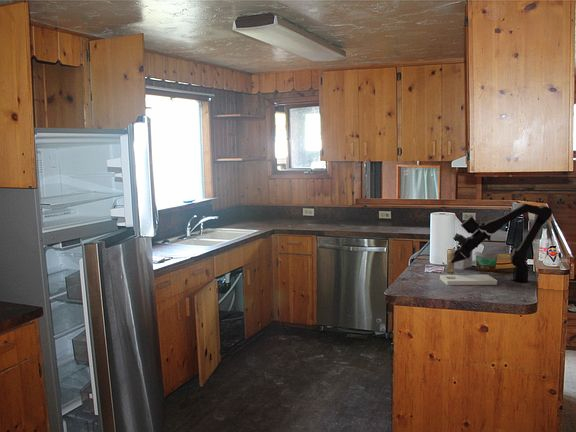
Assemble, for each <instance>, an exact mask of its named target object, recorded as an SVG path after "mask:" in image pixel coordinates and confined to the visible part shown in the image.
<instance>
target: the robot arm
mask: <svg viewBox="0 0 576 432" xmlns="http://www.w3.org/2000/svg"><path fill="white" fill-rule="evenodd" d="M526 213H528V214H532V215H534V219H533V222H532V224H531V225H530V227H529V229H528V231H527V232H526V235H525V236H524V237H523V239H522V242H521V243H520V245H519V246H518V247H517V248H515V247H513V249H512V251H511V253H510V254H509V260H510V262H511V265H513V266H514V267H513V272H512V278H511V279H510V281H514V282H516V283H520V284H521V283H522V284H525V283H530V282H531V280H530V279H529V268H530V267H529V265H528V264H527V262H526V258H527V254H528V251H529V249H530V248H531V246H532V244H533V242H534V241H535V240H536V239H535V238H536V237H537V235H538V233H539V231H540V230H541V229H542V227H543V225H544V224H545V223H546V222H548V221H549V220H550V218H551V217H552V215H553V211H552V209H551V208H550V206H547V205H544V204H543V205H539V206H537V205H534V204H528V203H526V202H524V203H523V204H521V205H520V206H518V207H515V208H514V209H513V210H511V211H509V212H507V213H505V214H503V215H502V216H500V217H497V218H494V219H493V218H492V219H490V220H487V221H486V222H483V223H481V222H479V223H478V222H477V221H476V220H475V219H474V217H473V216H469V218H468V219H466V220H464V221H463V222H462V223H461V225H460V226H461V227H462V228H463V229H464V230H465V231H466V233H468V234H472V235H470V236H467V237H466V236H464V235H463V234H459V233H458V232H456V233H455V234H454V237H452V238H453V239H454V240H455V241H456V242H457V244H456V248H457V250H456V251H455V253H454V258H453V259H452V261H451V263H455V262H458V261H461V260H465V259H468V258H470V257H471V252H472V253H473V251H474V250H475V249H477V248H479V245H481V244H482V243H483V242H485V240H486V239H487V241H488V242H490V241H491V237H492V236H491V235H493V234H495V233H497V232H498V231H499V230H500V229H501V228H502V227H503V226H504V225H506V224H507V223H510V222H512V221H513V220H515V219H517V218H519V217H520V216H523V215H524V214H526ZM472 250H473V251H472Z"/></svg>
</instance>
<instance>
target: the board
mask: <svg viewBox="0 0 576 432" xmlns="http://www.w3.org/2000/svg"><path fill="white" fill-rule="evenodd" d="M439 280H440V281H442V283H444V284H445V285H447V286H480V285H481V286H483V285H487V286H489V285H492V286H493V285H498V280H497V279H495V278H494V277H492V276H491V275H489V274H453V275H447V274H440V275H439Z"/></svg>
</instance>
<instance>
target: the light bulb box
mask: <svg viewBox="0 0 576 432" xmlns="http://www.w3.org/2000/svg"><path fill="white" fill-rule="evenodd" d="M453 250H455V251H456V250H457V247H456V248H455V249H453ZM473 252H474V250H472V252H471V257H470V258H468V259H465V260H461V261H458V262H455V263H454V269H458V270H466V269H468V268H471V267H473ZM454 253H455V252H454Z"/></svg>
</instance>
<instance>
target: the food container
mask: <svg viewBox="0 0 576 432" xmlns="http://www.w3.org/2000/svg"><path fill="white" fill-rule="evenodd" d="M473 255H475V259H476V260H475V262H476V263H475V264H476V270H477V271H480V272H485V273H486V272H487V273H488V272H490V273H491V272H495V271H496V267H497V261H498V257H499V256H500V254H499V252H498V251H497V252H494V253H493V252H487V251H486V252H479V251H474V254H473Z"/></svg>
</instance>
